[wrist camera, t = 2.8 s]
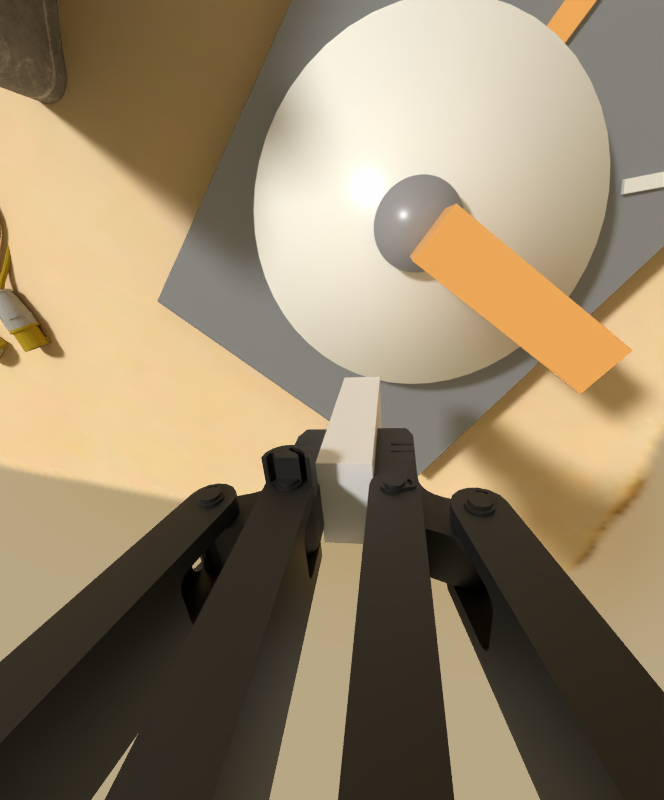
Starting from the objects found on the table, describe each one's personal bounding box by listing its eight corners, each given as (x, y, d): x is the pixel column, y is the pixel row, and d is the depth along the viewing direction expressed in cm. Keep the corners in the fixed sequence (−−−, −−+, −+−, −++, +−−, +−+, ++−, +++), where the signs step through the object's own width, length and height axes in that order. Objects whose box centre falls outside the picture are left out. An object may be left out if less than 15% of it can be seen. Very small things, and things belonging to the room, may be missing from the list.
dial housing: (416, -236, 14) (419, -294, 12) (770, 123, 16) (810, 112, 15) (170, 297, 24) (155, 301, 22) (412, 467, 26) (413, 481, 25)
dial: (211, 265, 21) (158, 275, 16) (390, -97, 14) (389, -261, 9) (449, 438, 23) (464, 491, 18) (704, 198, 16) (829, 184, 12)
